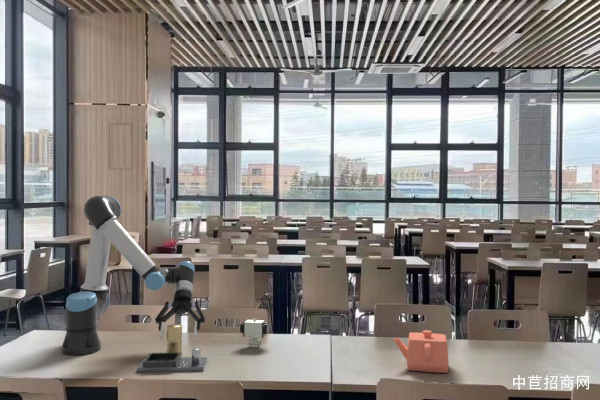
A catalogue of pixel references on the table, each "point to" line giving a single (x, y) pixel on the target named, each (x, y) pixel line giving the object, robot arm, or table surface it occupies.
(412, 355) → the teapot
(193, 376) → the table surface
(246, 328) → the pneumatic valve
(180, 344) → the gold tapered block
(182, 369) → the base
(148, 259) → the robot arm
